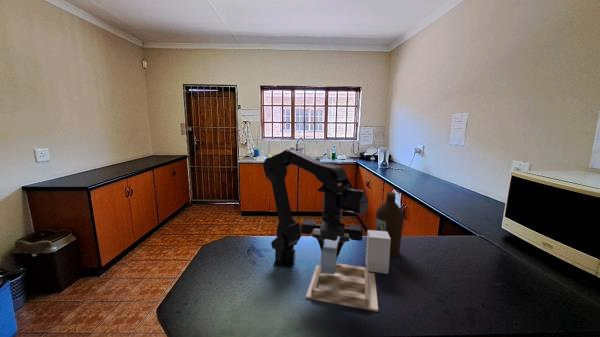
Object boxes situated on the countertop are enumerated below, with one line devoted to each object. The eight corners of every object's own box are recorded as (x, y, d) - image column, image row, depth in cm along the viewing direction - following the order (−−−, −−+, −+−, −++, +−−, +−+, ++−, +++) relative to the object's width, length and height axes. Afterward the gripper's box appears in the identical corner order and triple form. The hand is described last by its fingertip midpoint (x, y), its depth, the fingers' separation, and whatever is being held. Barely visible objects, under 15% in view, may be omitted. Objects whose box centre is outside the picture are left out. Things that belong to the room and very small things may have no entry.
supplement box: (388, 274, 83) (391, 239, 81) (366, 271, 84) (368, 237, 83) (385, 263, 90) (387, 231, 88) (365, 261, 91) (367, 229, 90)
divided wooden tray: (305, 298, 69) (306, 289, 69) (316, 266, 87) (316, 259, 86) (378, 311, 65) (378, 302, 64) (374, 275, 82) (374, 267, 82)
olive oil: (390, 245, 106) (394, 189, 102) (406, 256, 95) (411, 195, 92) (368, 247, 103) (372, 190, 100) (382, 259, 93) (387, 196, 90)
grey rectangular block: (320, 273, 70) (321, 252, 69) (326, 252, 83) (327, 234, 82) (334, 275, 69) (335, 254, 68) (338, 254, 82) (339, 236, 81)
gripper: (296, 212, 68) (295, 263, 70) (364, 219, 64) (360, 274, 66) (305, 202, 79) (303, 247, 81) (363, 207, 74) (360, 255, 76)
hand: (330, 255), depth 76 cm, fingers closed on grey rectangular block, 4 cm apart
